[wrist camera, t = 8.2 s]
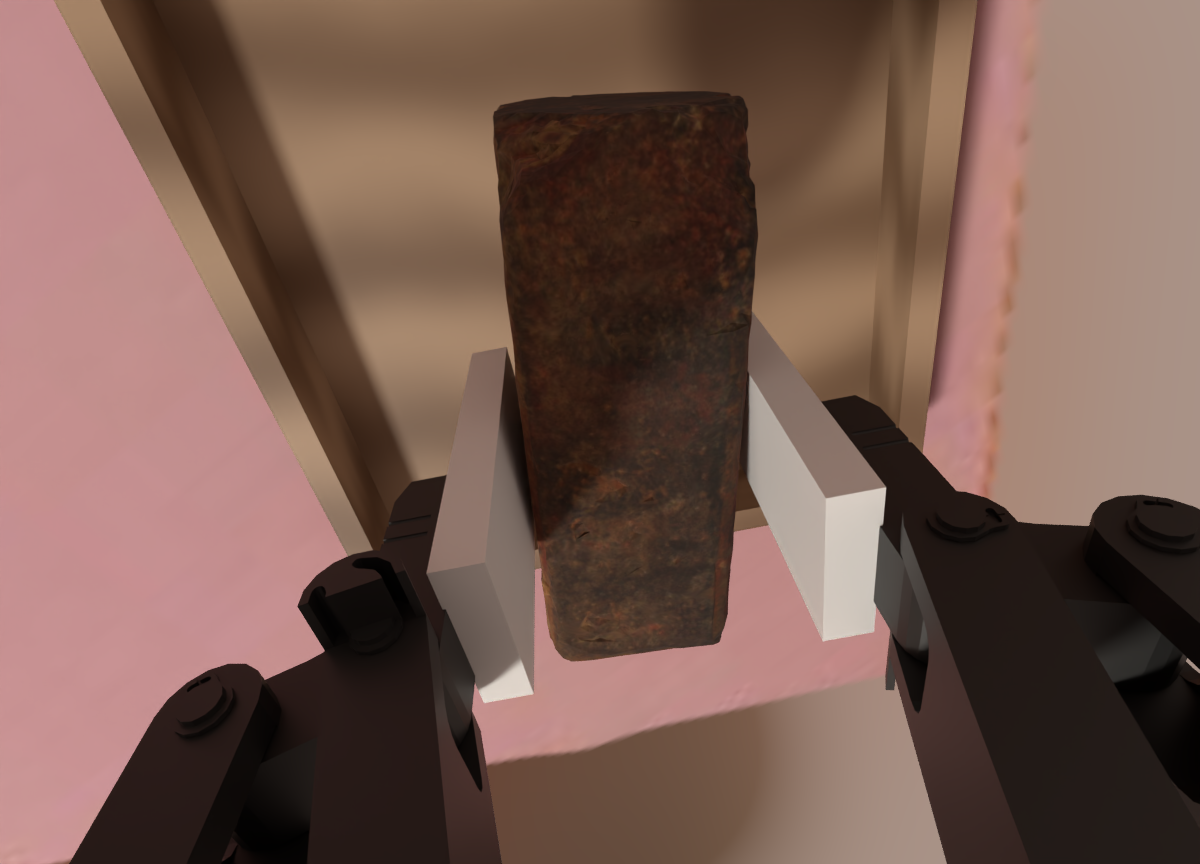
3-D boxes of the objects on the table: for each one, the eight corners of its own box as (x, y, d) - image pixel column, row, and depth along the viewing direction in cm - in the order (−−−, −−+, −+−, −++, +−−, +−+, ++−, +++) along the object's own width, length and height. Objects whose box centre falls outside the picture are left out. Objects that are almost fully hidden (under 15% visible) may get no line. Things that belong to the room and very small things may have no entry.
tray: (90, -78, 17) (1, -100, 14) (933, -258, 16) (1016, -318, 13) (387, 544, 28) (371, 600, 26) (878, 450, 28) (917, 496, 25)
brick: (687, 516, 18) (733, 652, 14) (545, 529, 18) (550, 672, 14) (703, 82, 12) (788, 103, 8) (494, 94, 12) (479, 122, 8)
